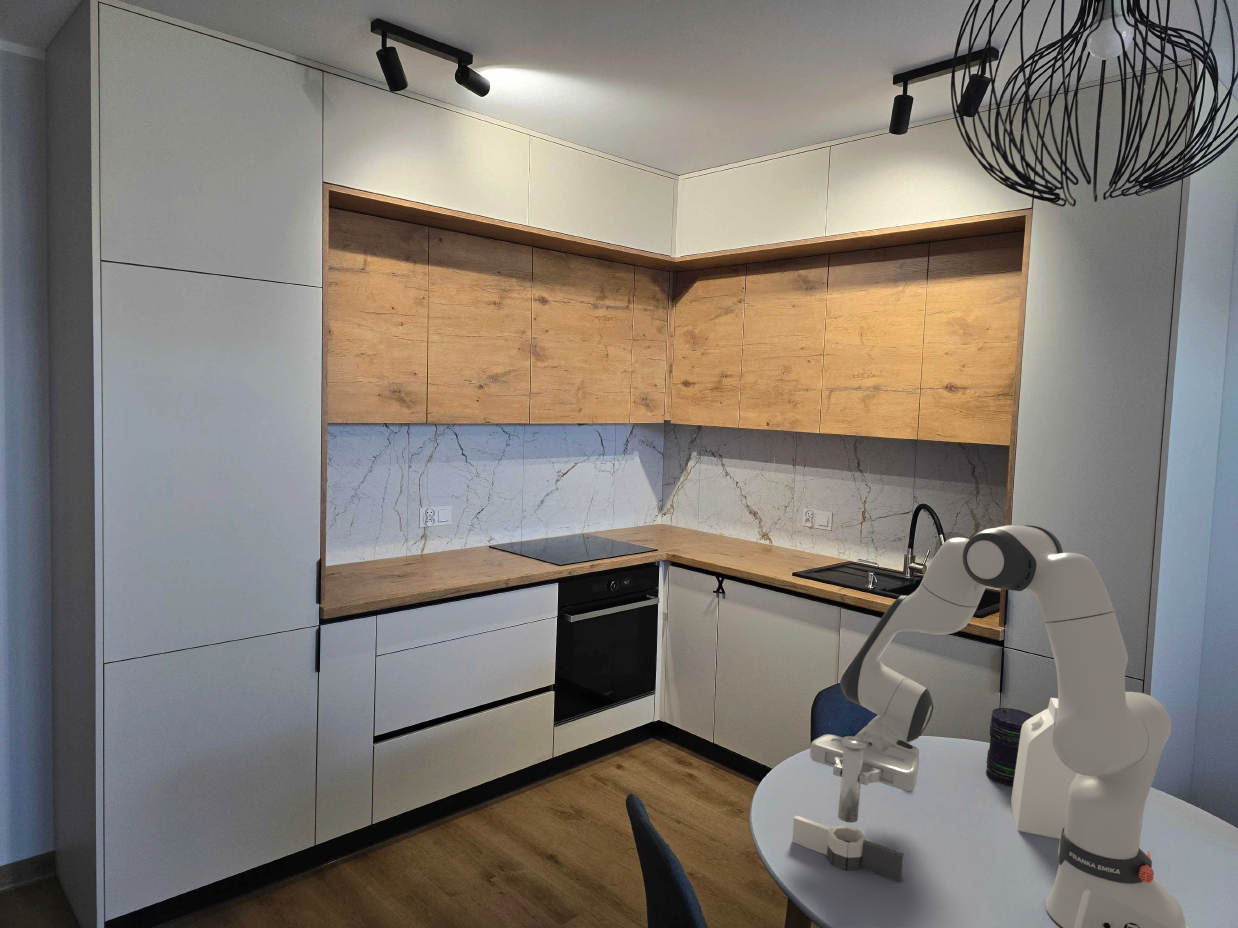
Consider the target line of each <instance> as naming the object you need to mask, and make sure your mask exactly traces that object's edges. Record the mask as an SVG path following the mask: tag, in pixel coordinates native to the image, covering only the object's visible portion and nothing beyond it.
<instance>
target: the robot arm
mask: <svg viewBox="0 0 1238 928" xmlns="http://www.w3.org/2000/svg"><path fill="white" fill-rule="evenodd" d="M987 587H988V588H993V589H999V590H1009V591H1013V592H1022V591H1024V590H1028V591H1029V592H1031V593H1032V594H1033V595H1034V597H1035V599H1036V600H1037V603H1038V605H1039V609H1040V612H1041V615H1042V620H1043V622H1044V626H1045V630H1046V633H1047V634H1046V635H1047V638H1048V641H1049V644H1050V648H1051V652H1052V655H1053V660H1054V664H1055V669H1056V678H1057V699H1058V717H1057V721H1056V724H1055V727H1054V730H1053V734H1052V742H1053V747H1054V749H1055V752H1056V754H1057V756H1058V757H1059V759H1060V760H1061V761H1062V762H1063V763H1064V764H1065V765H1066V766H1067V767H1068V768H1069V769H1071V770H1072V771H1074V772H1076V773H1077V774H1076V776H1075V778H1074V779H1073V781H1072V783H1071V785H1070V787H1069V791H1068V801H1067V810H1066V819H1065V827H1064V828H1063V829H1062V832H1061V835H1060V839H1058V840H1059V841H1058V850H1057V851H1058V852H1057V857H1058V858H1057V860H1058V868H1057V871H1056V874H1055V879H1054V882H1053V885H1052V888H1051V890H1050V893H1049V895H1048V896H1047V898H1046V900H1045V908H1046V911H1047V913H1048V915H1049V916H1050V918H1051V919H1053V920H1054V922H1056V924H1058V925H1059V926H1060V927H1062V928H1190V927H1189V926H1188V925H1186V919H1185V914H1184V911H1183V908H1182V907H1181V904H1180V902H1179V901H1178V899H1177V898H1176V897H1175V896H1174V895H1173V894H1172V893H1170V892H1169V891H1168V890H1167V889H1166V888H1165V887H1164V886H1163V885H1162V884H1161V883H1160V882H1159V881H1157V880H1156V879H1155V878H1154V876H1155V875H1154V874H1155V872H1154V870H1153V861H1152V859H1151V853H1150V851H1147V852H1146V853H1147V854H1146V853H1145V852H1144V851H1143V850H1142V849H1141V848H1140V842H1141V836H1142V835H1141V834H1142V827H1143V818H1144V812H1145V807H1146V803H1147V799H1148V796H1149V793H1150V790H1151V787H1152V785H1153V782H1154V778H1155V775H1156V772H1157V769H1158V765H1159V761H1160V757H1161V756H1162V752H1163V749H1164V747H1165V744H1166V743H1167V741H1168V739H1169V737H1170V736H1171V732H1172V720H1171V717H1170V715H1169V712H1168V711H1167V709H1166V708H1165V706H1164V705H1163V704H1162V703H1161V702H1160V701H1158V700H1157V699H1156V698H1155V697H1153V696H1151V695H1148V694H1147V693H1143V692H1139V691H1138V692H1137V691H1126V670H1127V666H1128V663H1129V655H1128V650H1127V647H1126V644H1125V641H1124V639H1123V635H1122V632H1121V628H1120V626H1119V621H1118V619H1117V615H1116V611H1115V609H1114V606H1113V603H1112V600H1111V597H1110V594H1109V591H1108V590H1107V586H1106V585H1105V583H1104V581H1103V579H1102V576H1101V575H1100V572H1099V571H1098V568H1097V567H1096V564H1095V563H1094V562H1093V560H1091V559H1090V558H1089V557H1088V556H1086V555H1084V554H1080V553H1078V552H1068V551H1067V552H1064V551H1063V548H1062V544H1061V542H1060V541H1059V539H1058V538H1057V536H1055V534H1054V533H1052V532H1051V531H1049V530H1048V529H1045V528H1044V527H1040V526H1038V525H1037V526H1036V525H1032V524H1031V525H1029V524H1027V525H1026V524H1025V525H1015V524H1014V525H1013V524H1012V525H1011V524H1010V525H1009V524H1008V525H1002V526H997V527H994V528H993V527H992V528H986V529H984V530H981V531H979V532H977V533H975V534H974V535H973V536H971V537H970V538H966V537H952V538H949V539H947V540H946V541H944V542H943V543H942V544H941V546H940V547H939V549H937V551H936V553H935V555H934V556H933V557H932V559H931V561H930V563H929V565H928V567H927V568H926V571H925V573H924V574H923V578H922V580H921V582H920V584H919V586H918V587H917V588H916V589H915V591H913V592H912V593H910V594H909V595H900V596H899V597H898V598H896V599H895V600H894V601H893V602H892V603H891V604H890V605H889V607H888V608H887V609H886V611H884V614H883V615H882V617H881V618H880V619H879V621H878V622H877V624H876V626H875V627H874V628H873V630H872V632H871V633H870V634H869V636H868V637H867V639H866V641H864V643H863V645H862V647H861V648H860V649H859V650H858V652H857V654H856V655H855V657H853V659H851V660H850V662H849V663H848V664H847V665H846V667H844V670H843V672H842V674H841V677H840V680H839V683H840V688H841V690H842V693H843V695H844V697H845V699H846V700H847V701H850V702H852V703H854V704H856V705H858V706H861V707H863V708H865V709H867V710H869V711H870V712H872V713H874V714H876V715H877V716H875V717H874V718H872V719H871V720H870V721H869V722H868V724H867V725H865V726H864V727H863V728H862V729H861V730H860V731H859V732H858V733H856V734H855V735H854V737H858V738H861V739H863V740H865V741H866V743H867V745H866V748H865V749H864V753H863V765H862V773H861V774H860V776H859V779H860V780H859V783H861V785H864V786H868V785H869V784H873V783H880V784H883V785H887V786H890V787H893V788H896V789H899V790H903V791H905V792H911V791H914V790H915V788H916V786H917V782H918V781H917V780H918V771H919V765H920V752H919V751H920V750H919V748H918V747H916V746H914V745H913V744H912V742H913V741H915V740H917V739H918V738H920V737H921V735H922V734H923V733H924V731H925V730H926V728H927V726H928V724H929V722H930V719H932V714H933V712H934V702H933V698H932V695H931V693H930V691H929V689H928V688H926V687H925V686H923V685H922V684H920V683H919V682H916V681H914V680H913V679H911V678H909V677H907V676H904V675H903V674H901V673H899V672H898V671H896V670H893V669H892V668H890V667H888V666H886V665H884V663H883V662H882V660H881V657H882V655H883V654H884V652H885V651H886V650H887V648H888V647H889V645H890V643H891V642H892V641H893V640H894V638H895V636H896V635H897V634H898V633H901V632H912V633H913V632H915V633H921V634H922V633H923V634H929V635H934V636H935V635H941V636H942V635H950V634H954V633H957V632H959V631H961V630H963V629H964V628H966V627H967V626H968V624H969V623H970V621H971V620H972V618H973V617H974V614H975V612H976V611H977V609H978V606H979V604H980V602H981V599H982V597H983V595H984V592H985V590H986V589H987ZM842 738H844V737H842V736H838V735H835V734H830V733H829V734H823V735H821V736H820V737H817V738H815V739H814V740H812V742H811V743H810V748H809V749H810V750H809V755H810V756H809V758H810V759H811V761H813V762H815V763H819V764H822V765H825V766H828V767H831V768H833V769H832V774H833V775H832V776H837V777H839V778H841V774H842V762H843V750H844V745H843V744H842Z"/></svg>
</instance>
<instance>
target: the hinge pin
mask: <svg viewBox="0 0 1238 928" xmlns="http://www.w3.org/2000/svg"><path fill="white" fill-rule="evenodd" d="M842 744H843V745H844V750H843V762H842V774H841V777H840V787H839V801H838V813H837V816H838V819H839V820H841V821H843V822H844V823H857V822H858V821H859V810H860V809H859V808H860V798H861V785H862V784H861V783H859V780H860V779H859V776H860V774H861V773H862V765H863V753H864V749H865V748H866V745H867V743H866V741H865V740H863V739H861V738H858V737H855V735H854V736H852V735H851V736H849V735H848V736H847V735H846V736H844V737H843V738H842Z"/></svg>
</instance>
